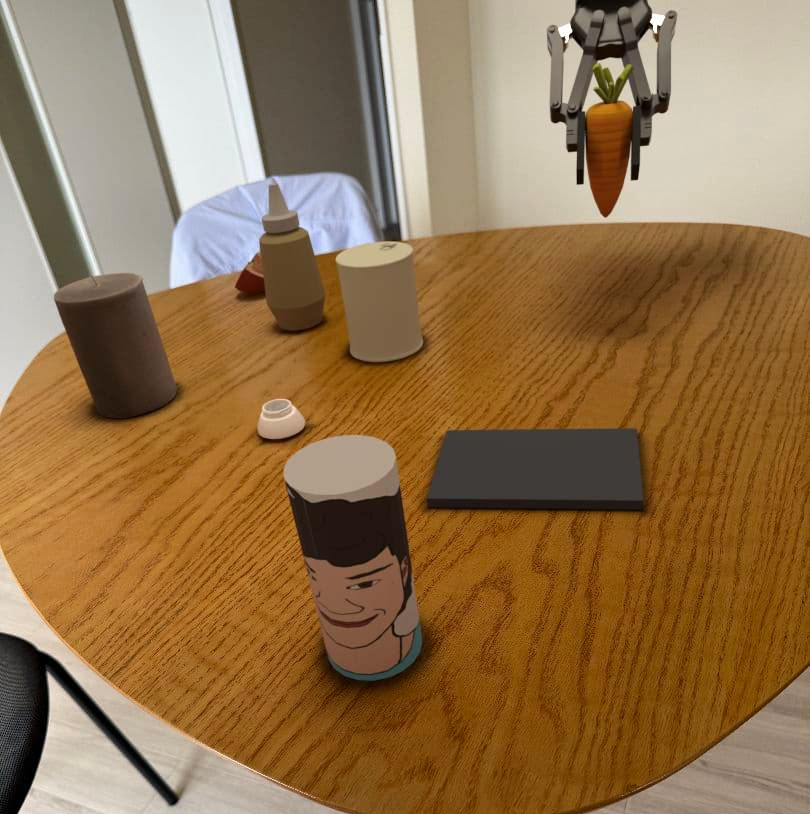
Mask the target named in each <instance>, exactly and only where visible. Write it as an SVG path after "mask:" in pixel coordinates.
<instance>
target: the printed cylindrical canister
mask: <svg viewBox="0 0 810 814" xmlns="http://www.w3.org/2000/svg"><path fill="white" fill-rule="evenodd" d="M283 480H284V483H285V488H286V492H287V495H288V499H289V504H290V508H291V512H292V516H293V519H294V524H295V528H296V533H297V536H298V541H299V544H300V549H301V553H302V555H303V556H302V557H303V560H304V565H305V569H306V572H307V573H306V574H307V577H308V582H309V585H310V589H311V594H312V597H313V601H314V605H315V609H316V614H317V618H318V622H319V626H320V630H321V633H322V638H323V642H324V646H325V651H326V654H327V658H328V661H329V662H330V665H331V666H332V667H333V669H334V670H336V671H337V672H338V673H340V674H341V675H342V676H344V677H346V678H350V679H353V680H356V681H372V682H373V681H378V680H383V679H384V680H385V679H388V678H392V677H393V676H396V675H397V674H399V673H402V672H404V671H405V670H406V669H408V668H409V667H410V666H411V665H412V664H414V662H415V661H416V659H417V658H418V656H419V655H420V653H421V650H422V646H423V645H422V644H423V636H422V630H421V629H422V628H421V623H420V622H421V621H420V615H419V608H418V601H417V595H416V587H415V582H414V581H415V580H414V573H413V566H412V560H411V552H410V545H409V539H408V538H409V537H408V531H407V523H406V517H405V510H404V504H403V497H402V496H403V495H402V489H401V483H400V475H399V469H398V461H397V456H396V452H395V449H394V447H392V446H391V444H389V443H388V442H387V441H385V440H382V439H380V438H378V437H375V436H370V435H362V434H343V435H336V436H332V437H326V438H324V439H321V440H318V441H314V442H312V443H310V444H308V445H306V446H304V447H302V448H301V449H299V450H297V451H296V452H295V453H293V455H291V457H289V458H288V459H287V461H286V463H285V466H284V467H283Z"/></svg>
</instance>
